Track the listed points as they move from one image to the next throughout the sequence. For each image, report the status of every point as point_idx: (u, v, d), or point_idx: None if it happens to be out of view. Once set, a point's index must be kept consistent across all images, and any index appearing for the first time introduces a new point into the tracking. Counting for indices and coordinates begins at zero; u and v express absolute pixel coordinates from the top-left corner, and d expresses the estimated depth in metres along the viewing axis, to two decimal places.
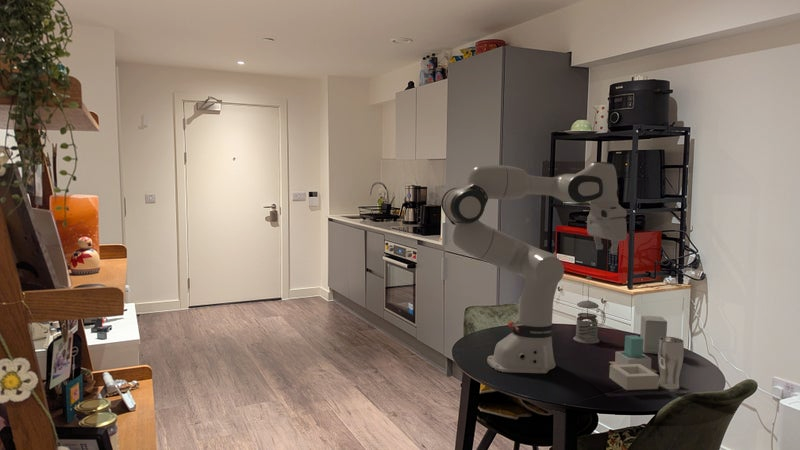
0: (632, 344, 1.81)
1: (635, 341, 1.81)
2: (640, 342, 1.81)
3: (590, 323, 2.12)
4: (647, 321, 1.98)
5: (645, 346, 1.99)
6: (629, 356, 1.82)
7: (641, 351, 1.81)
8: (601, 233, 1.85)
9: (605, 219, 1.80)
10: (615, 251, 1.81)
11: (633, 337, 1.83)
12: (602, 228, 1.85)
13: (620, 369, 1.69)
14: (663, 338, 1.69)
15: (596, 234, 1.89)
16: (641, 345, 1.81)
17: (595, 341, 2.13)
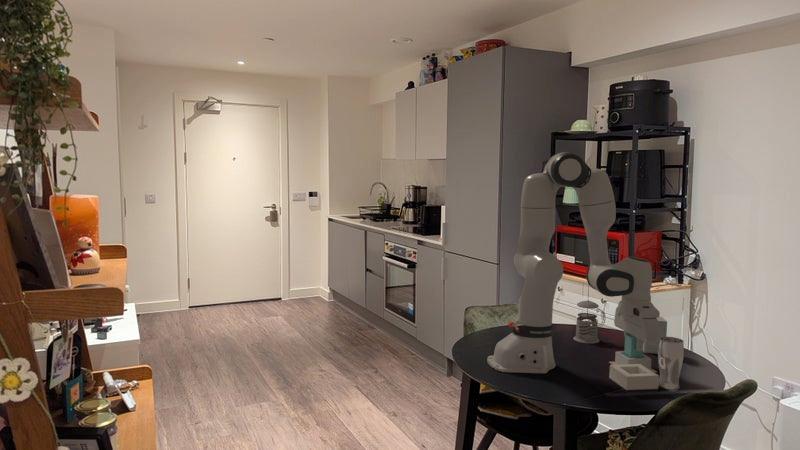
0: (632, 344, 1.81)
1: (635, 341, 1.81)
2: None
3: (590, 323, 2.12)
4: None
5: (645, 346, 1.99)
6: (629, 356, 1.82)
7: (641, 351, 1.81)
8: (630, 329, 1.82)
9: (636, 317, 1.76)
10: (639, 348, 1.80)
11: (633, 337, 1.83)
12: (631, 324, 1.81)
13: (620, 369, 1.69)
14: (663, 338, 1.69)
15: (624, 328, 1.85)
16: None
17: (595, 341, 2.13)
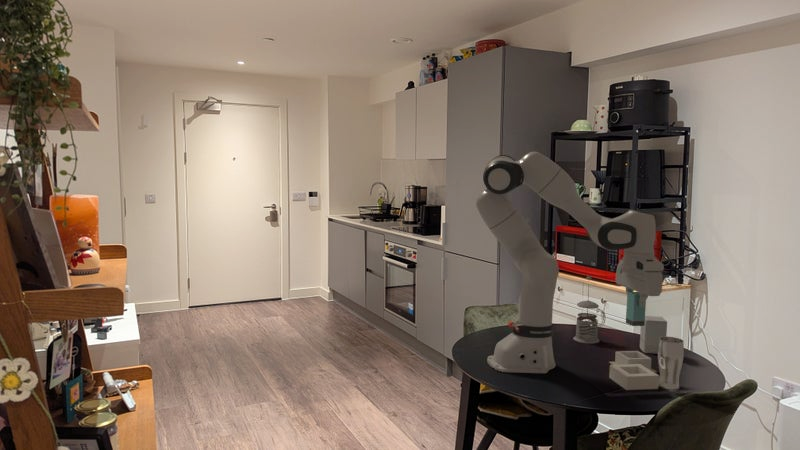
0: (634, 300, 1.75)
1: (638, 297, 1.75)
2: None
3: (590, 323, 2.12)
4: (647, 321, 1.98)
5: (645, 346, 1.99)
6: (632, 313, 1.76)
7: (644, 307, 1.75)
8: (633, 285, 1.75)
9: (640, 271, 1.70)
10: (642, 304, 1.74)
11: (636, 293, 1.76)
12: (634, 280, 1.75)
13: (620, 369, 1.69)
14: (663, 338, 1.69)
15: (626, 285, 1.79)
16: None
17: (595, 341, 2.13)
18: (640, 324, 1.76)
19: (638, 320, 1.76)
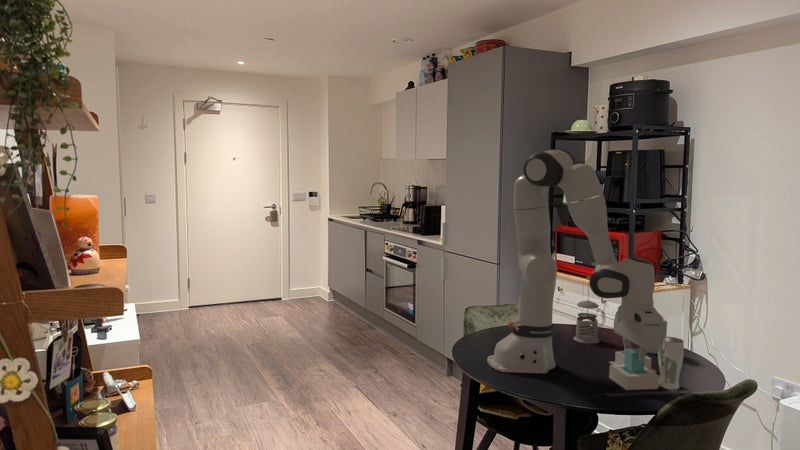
0: (632, 359, 1.66)
1: (636, 355, 1.66)
2: None
3: (590, 323, 2.12)
4: None
5: None
6: (629, 371, 1.67)
7: (643, 366, 1.67)
8: (631, 336, 1.67)
9: (638, 324, 1.61)
10: (643, 358, 1.64)
11: (634, 351, 1.68)
12: (632, 331, 1.66)
13: (620, 369, 1.69)
14: (663, 338, 1.69)
15: (624, 335, 1.70)
16: None
17: (595, 341, 2.13)
18: None
19: None
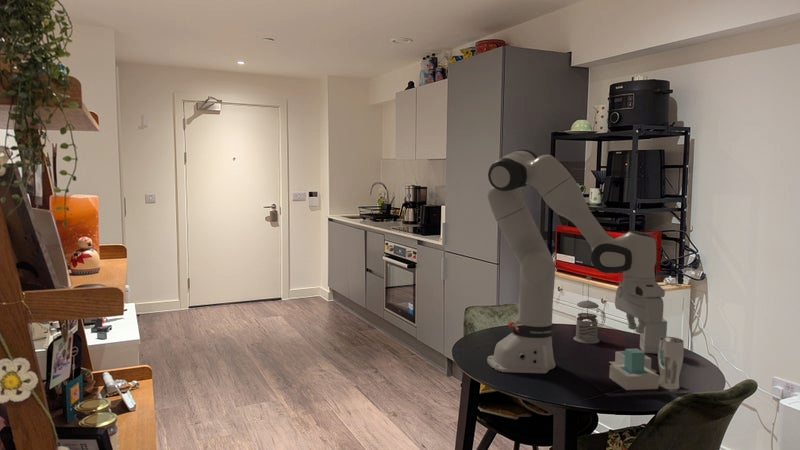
0: (632, 359, 1.66)
1: (636, 355, 1.66)
2: (641, 356, 1.66)
3: (590, 323, 2.12)
4: None
5: (645, 346, 1.99)
6: (629, 371, 1.67)
7: (643, 366, 1.67)
8: (632, 311, 1.66)
9: (639, 297, 1.60)
10: (642, 331, 1.65)
11: (634, 351, 1.68)
12: (633, 305, 1.65)
13: (620, 369, 1.69)
14: (663, 338, 1.69)
15: (626, 310, 1.69)
16: (643, 359, 1.66)
17: (595, 341, 2.13)
18: None
19: None
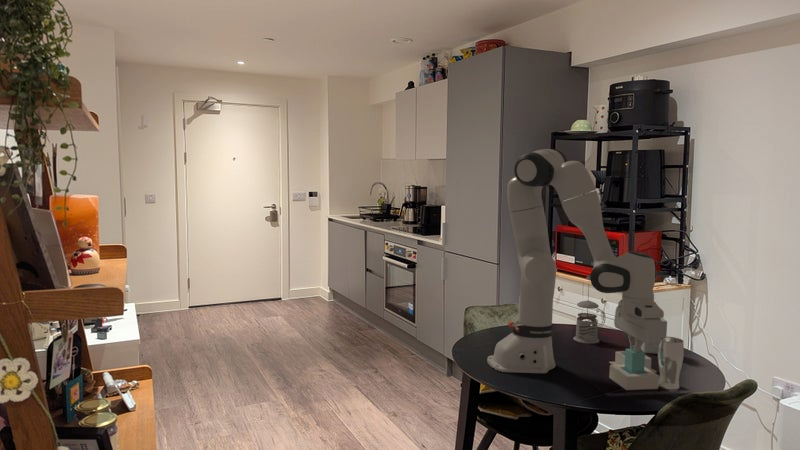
0: (632, 359, 1.66)
1: (637, 355, 1.66)
2: (642, 356, 1.66)
3: (590, 323, 2.12)
4: None
5: (645, 346, 1.99)
6: (630, 371, 1.67)
7: (643, 366, 1.67)
8: (631, 331, 1.66)
9: (638, 318, 1.61)
10: (638, 350, 1.66)
11: (634, 351, 1.68)
12: (633, 325, 1.66)
13: (620, 369, 1.69)
14: (663, 338, 1.69)
15: (625, 330, 1.70)
16: (643, 359, 1.66)
17: (595, 341, 2.13)
18: None
19: None
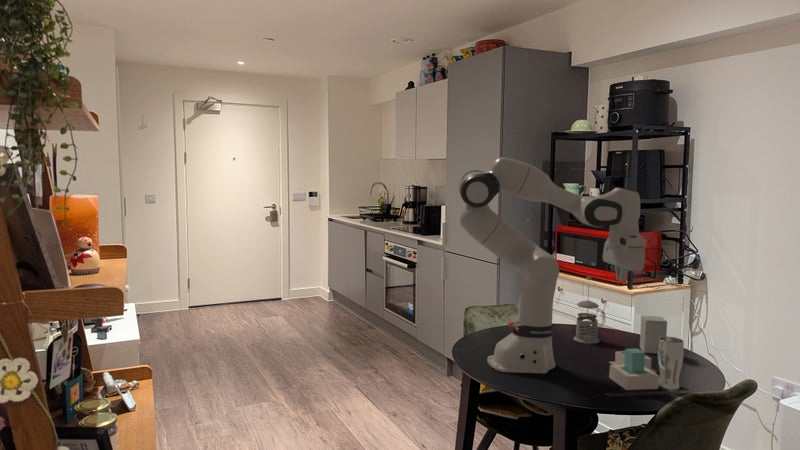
0: (632, 359, 1.66)
1: (636, 355, 1.66)
2: (641, 356, 1.66)
3: (590, 323, 2.12)
4: (647, 321, 1.98)
5: (645, 346, 1.99)
6: (629, 371, 1.67)
7: (643, 366, 1.67)
8: (617, 261, 1.79)
9: (623, 247, 1.74)
10: (623, 279, 1.79)
11: (634, 351, 1.68)
12: (618, 256, 1.78)
13: (620, 369, 1.69)
14: (663, 338, 1.69)
15: (612, 262, 1.83)
16: (643, 359, 1.66)
17: (595, 341, 2.13)
18: None
19: None
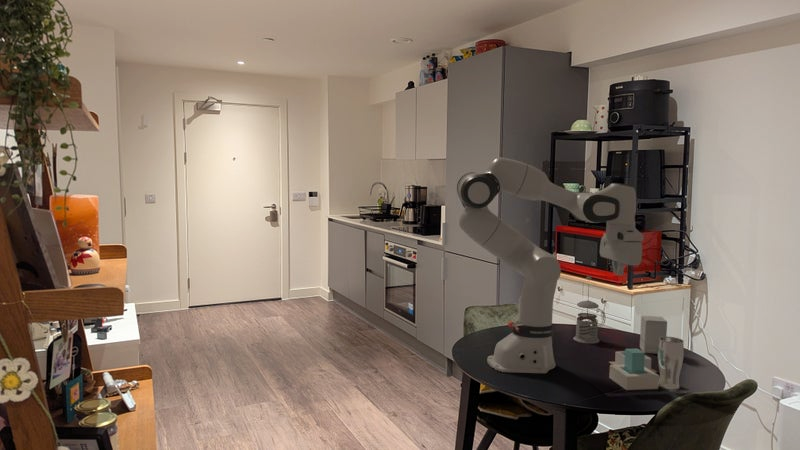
0: (632, 359, 1.66)
1: (636, 355, 1.66)
2: (641, 356, 1.66)
3: (590, 323, 2.12)
4: (647, 321, 1.98)
5: (645, 346, 1.99)
6: (629, 371, 1.67)
7: (643, 366, 1.67)
8: (615, 256, 1.82)
9: (621, 242, 1.76)
10: (621, 273, 1.82)
11: (634, 351, 1.68)
12: (616, 251, 1.81)
13: (620, 369, 1.69)
14: (663, 338, 1.69)
15: (609, 256, 1.85)
16: (643, 359, 1.66)
17: (595, 341, 2.13)
18: None
19: None
